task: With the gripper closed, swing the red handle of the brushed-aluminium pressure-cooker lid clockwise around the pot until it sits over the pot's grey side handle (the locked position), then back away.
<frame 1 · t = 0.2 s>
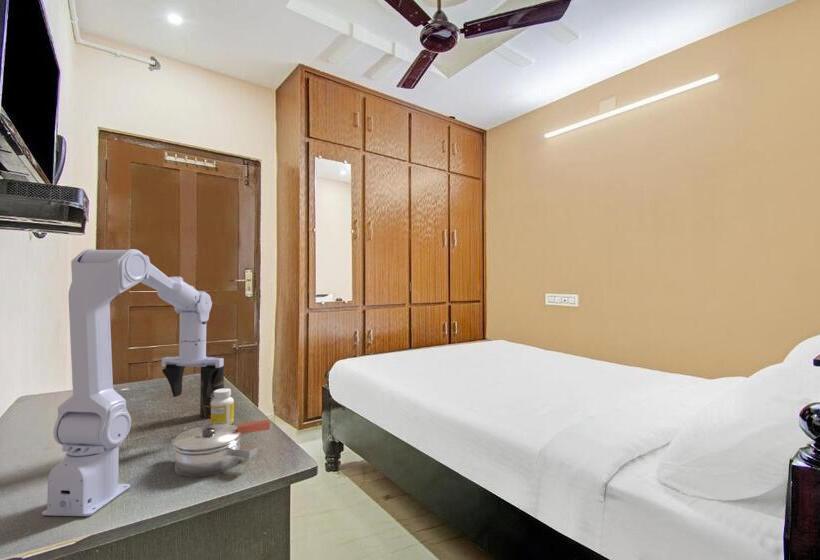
hand: (192, 396, 97), 10 cm above the table, fingers open, 7 cm apart
deodorant: (211, 415, 114), on the table
pot: (208, 463, 83), on the table
supplement bottle: (222, 428, 104), on the table
lid: (224, 431, 85), point 6 cm above the table, hinge at 45.0°
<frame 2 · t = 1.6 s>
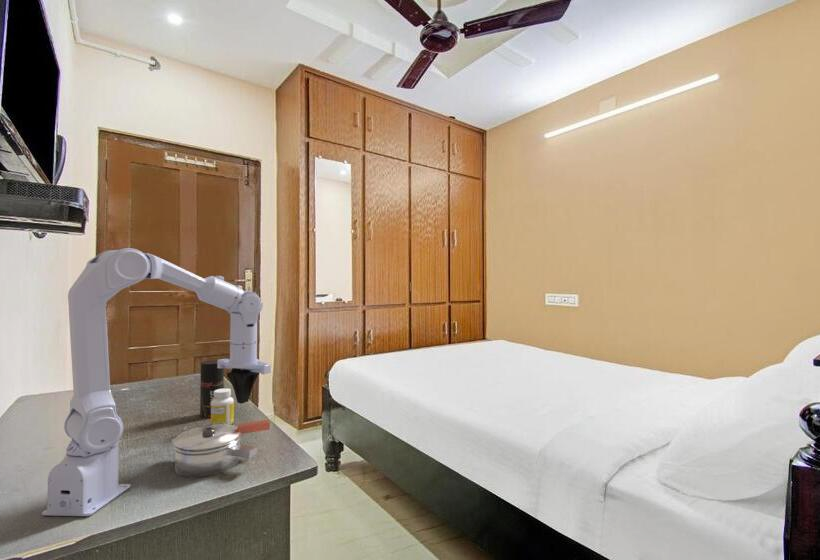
hand: (243, 402, 92), 10 cm above the table, fingers closed
nothing on the table moved.
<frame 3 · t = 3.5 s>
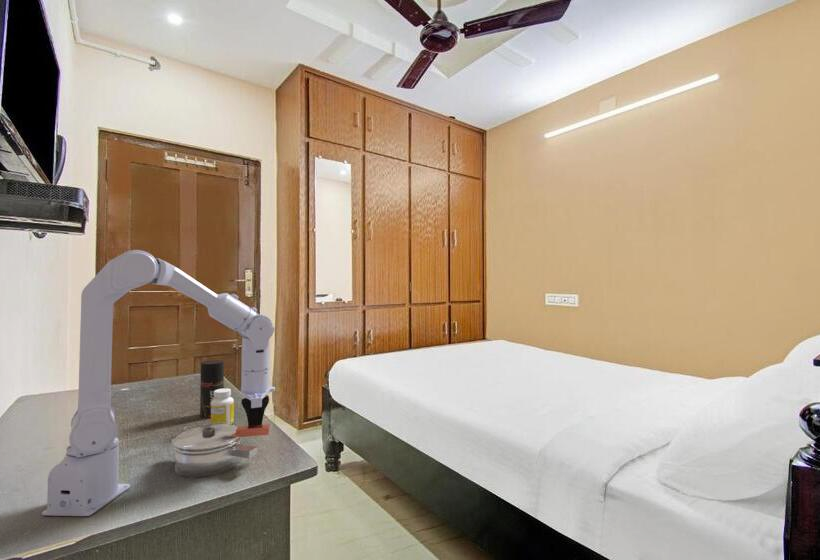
hand: (255, 431, 87), 5 cm above the table, fingers closed, pressing on lid
lid: (223, 433, 84), point 6 cm above the table, hinge at 29.7°, touching gripper
everything else where it was.
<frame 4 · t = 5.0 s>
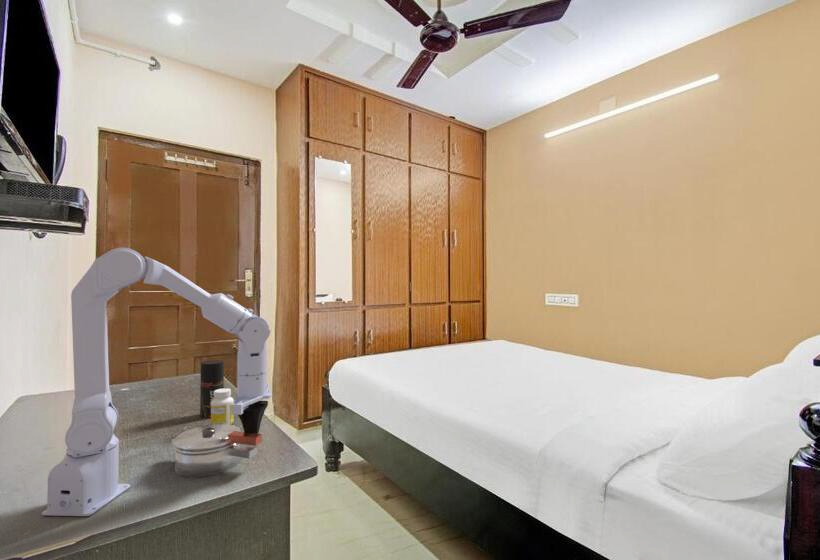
hand: (251, 438, 83), 5 cm above the table, fingers closed
lid: (220, 435, 83), point 6 cm above the table, hinge at 2.0°, touching gripper
everything else where it was.
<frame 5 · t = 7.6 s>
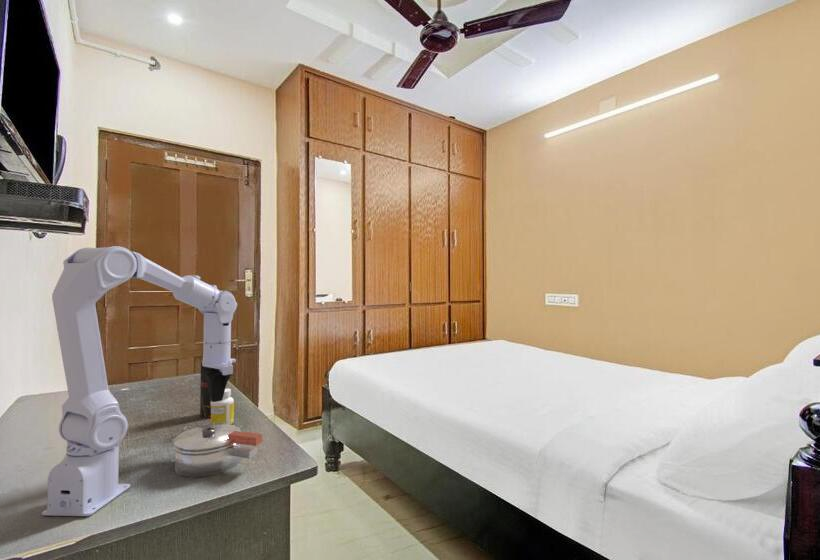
hand: (216, 400, 92), 10 cm above the table, fingers closed
lid: (220, 435, 83), point 6 cm above the table, hinge at 1.9°
everything else where it was.
at the end: lid at +2° (first picture: +45°); lid touching nothing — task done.
